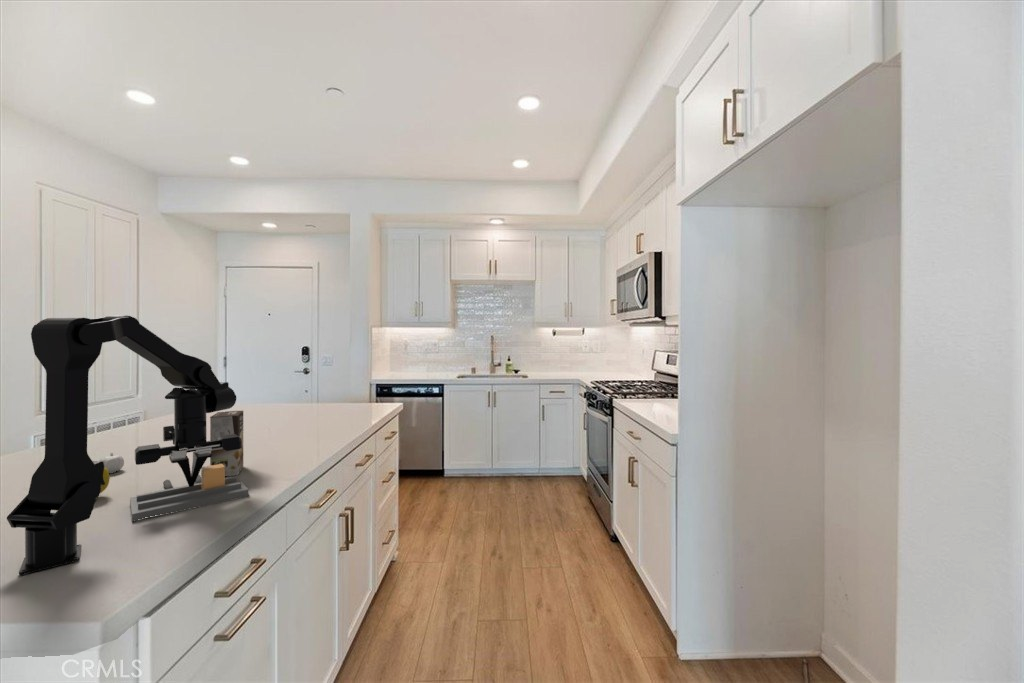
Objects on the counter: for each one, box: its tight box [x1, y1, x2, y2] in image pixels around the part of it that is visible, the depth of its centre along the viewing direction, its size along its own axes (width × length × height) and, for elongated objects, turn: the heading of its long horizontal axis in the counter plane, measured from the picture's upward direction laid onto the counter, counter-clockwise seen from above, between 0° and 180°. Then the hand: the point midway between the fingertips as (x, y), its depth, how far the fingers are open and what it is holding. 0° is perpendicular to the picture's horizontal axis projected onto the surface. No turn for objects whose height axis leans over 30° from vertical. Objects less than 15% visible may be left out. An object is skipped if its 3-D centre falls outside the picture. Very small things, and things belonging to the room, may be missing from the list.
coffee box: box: [209, 410, 244, 477], centre depth 115 cm, size 9×6×16 cm
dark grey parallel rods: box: [162, 473, 201, 490], centre depth 103 cm, size 11×7×1 cm
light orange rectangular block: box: [200, 464, 226, 490], centre depth 98 cm, size 3×4×5 cm
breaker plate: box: [129, 476, 250, 522], centre depth 95 cm, size 12×20×2 cm, turn 133°
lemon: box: [100, 467, 111, 494], centre depth 96 cm, size 6×6×8 cm
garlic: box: [98, 452, 125, 474], centre depth 115 cm, size 6×5×5 cm
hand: (191, 486), depth 95 cm, fingers closed
